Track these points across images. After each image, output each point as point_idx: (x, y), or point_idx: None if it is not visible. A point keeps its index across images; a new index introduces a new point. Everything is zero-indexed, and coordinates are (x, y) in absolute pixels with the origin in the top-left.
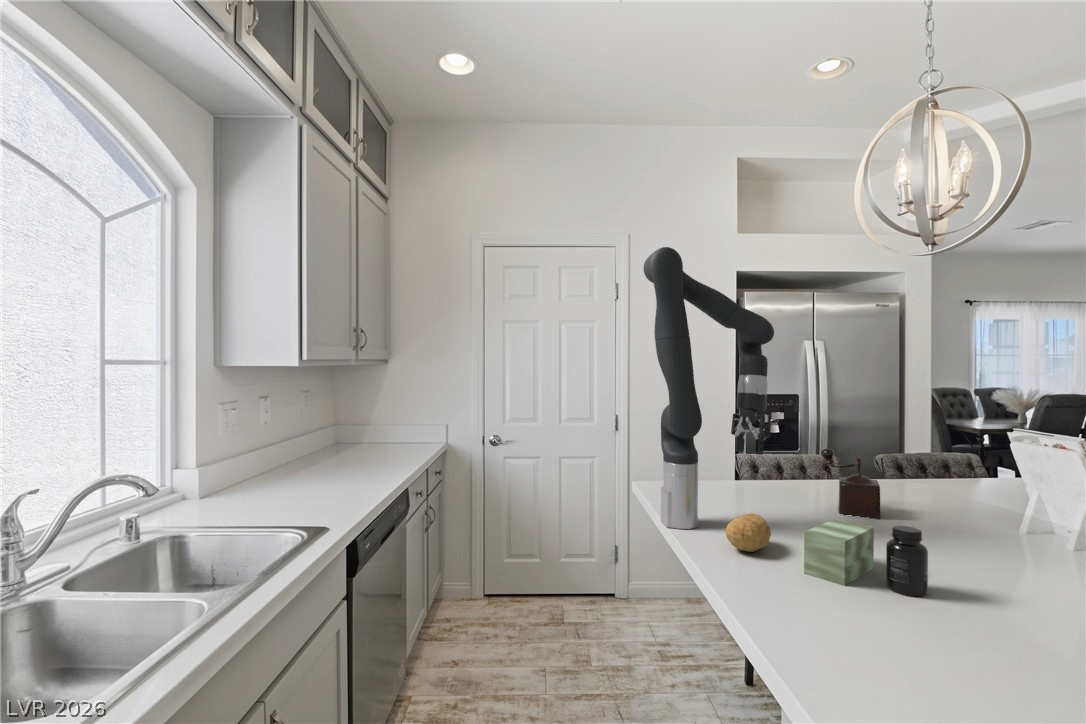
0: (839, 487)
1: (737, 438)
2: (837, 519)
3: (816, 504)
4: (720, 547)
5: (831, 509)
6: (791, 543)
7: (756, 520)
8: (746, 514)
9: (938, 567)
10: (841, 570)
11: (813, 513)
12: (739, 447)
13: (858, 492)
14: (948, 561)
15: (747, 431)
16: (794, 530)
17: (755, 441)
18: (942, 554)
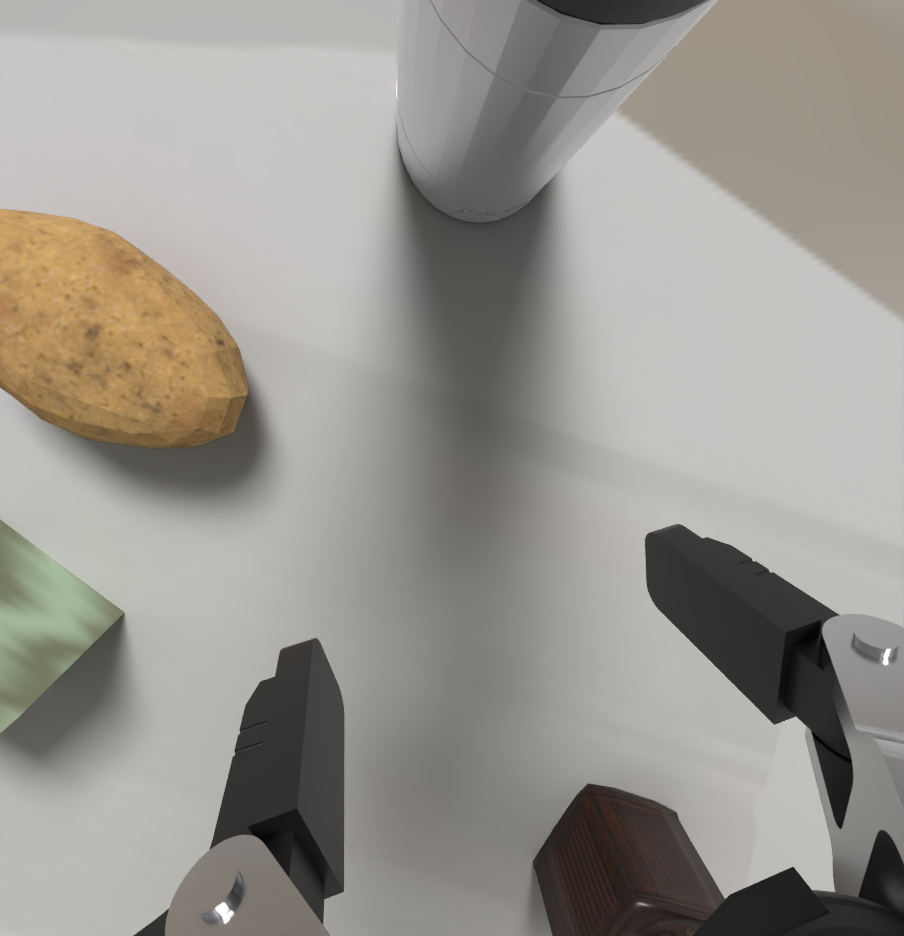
0: (660, 883)
1: (774, 623)
2: (11, 722)
3: (706, 757)
4: (156, 226)
5: (645, 779)
6: (257, 530)
7: (4, 365)
8: (151, 360)
9: (99, 833)
10: None
11: (606, 715)
12: (675, 577)
13: (593, 913)
14: (158, 871)
15: (840, 879)
16: (412, 592)
17: (269, 787)
18: None
